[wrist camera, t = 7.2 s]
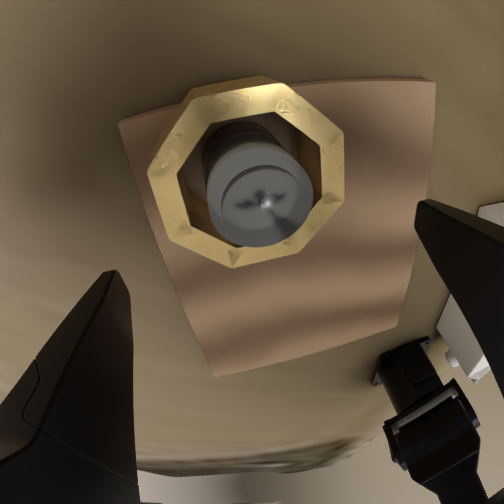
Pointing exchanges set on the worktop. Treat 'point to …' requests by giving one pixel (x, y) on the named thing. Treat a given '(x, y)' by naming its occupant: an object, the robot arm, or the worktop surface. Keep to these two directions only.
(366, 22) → the worktop surface
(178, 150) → the brass ring
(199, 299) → the copper plate
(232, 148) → the steel post
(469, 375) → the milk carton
